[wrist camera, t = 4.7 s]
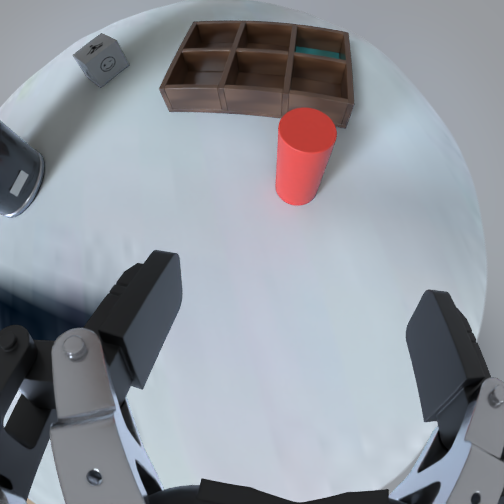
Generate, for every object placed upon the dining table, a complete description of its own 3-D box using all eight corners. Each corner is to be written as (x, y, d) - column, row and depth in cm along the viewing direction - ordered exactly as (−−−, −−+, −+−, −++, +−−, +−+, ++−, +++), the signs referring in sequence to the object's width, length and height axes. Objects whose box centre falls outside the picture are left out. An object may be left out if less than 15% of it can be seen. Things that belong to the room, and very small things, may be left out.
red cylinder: (272, 202, 26) (275, 148, 17) (278, 165, 27) (281, 103, 18) (315, 208, 26) (336, 157, 17) (318, 171, 27) (337, 112, 18)
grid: (169, 111, 29) (158, 88, 25) (198, 43, 32) (193, 21, 28) (345, 128, 28) (354, 104, 24) (343, 54, 30) (348, 32, 26)
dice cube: (100, 87, 31) (85, 64, 26) (87, 77, 32) (72, 55, 27) (129, 65, 32) (116, 40, 27) (113, 55, 33) (101, 33, 28)
